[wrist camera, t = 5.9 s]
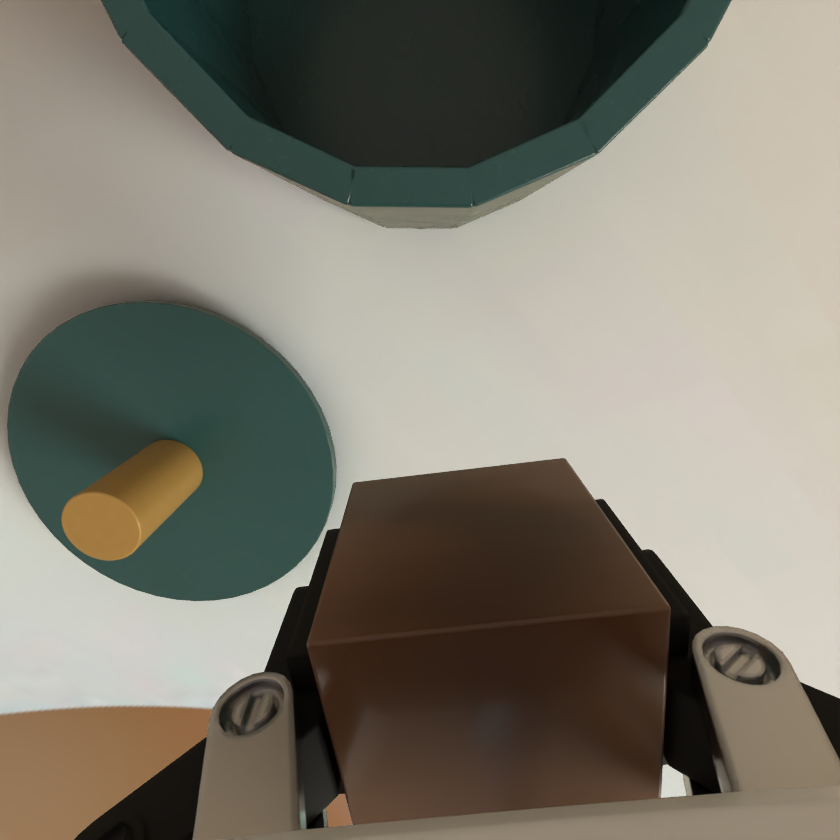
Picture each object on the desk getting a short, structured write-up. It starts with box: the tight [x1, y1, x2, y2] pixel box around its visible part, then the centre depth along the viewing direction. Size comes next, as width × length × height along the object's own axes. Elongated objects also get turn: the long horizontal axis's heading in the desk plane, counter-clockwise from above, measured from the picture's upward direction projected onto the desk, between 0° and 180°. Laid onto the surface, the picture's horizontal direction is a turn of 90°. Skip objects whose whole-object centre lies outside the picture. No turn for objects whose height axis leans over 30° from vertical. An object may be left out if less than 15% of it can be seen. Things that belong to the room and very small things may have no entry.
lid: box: [7, 301, 336, 601], centre depth 20 cm, size 15×15×6 cm
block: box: [307, 458, 671, 825], centre depth 10 cm, size 5×5×5 cm
